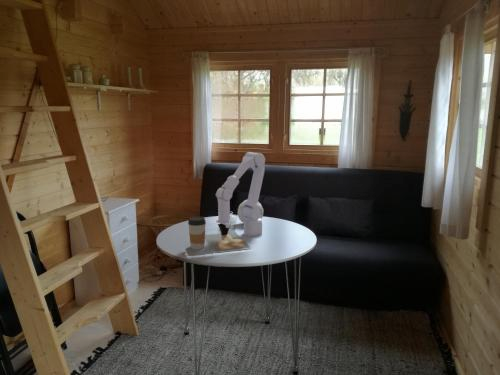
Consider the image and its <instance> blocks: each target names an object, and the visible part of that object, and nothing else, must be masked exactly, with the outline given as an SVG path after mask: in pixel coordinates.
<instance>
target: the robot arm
mask: <svg viewBox="0 0 500 375" xmlns="http://www.w3.org/2000/svg"><path fill="white" fill-rule="evenodd" d="M265 163H266V157H265V156H264V154H263V153H260V152H251V151H248V152H246V153H245V154H244V156H243V157H242V161H241V163H240V164H239V166H238V167H237V168H236V170H235V172H234V173H233V174H232V175H230V176H228V177H227V178H226V181H225V182H224V183H223V184H222V185H221V187H219V188H218V189H217V191H216V193H215V198H217V208H218V209H217V210H218V212H217V214H218V219H217V220H215V222H216V223H218V224H217V226H218V228H219V231H220V233H221V235H227V234H228V233H229V230H230V228H231V211H230V210H231V208H230V206H231V205H230V204H231V201H230V200H231V199H232V198H233V193H234V191H235V189H236V188H237V186H238V185H239V184H240V180H239V179H241V177H242V176H243V175H244V174H245V173H246V171H248V169H249V168H251V169H252V170H253V174H252V178H251V183H250V188H249V191H248V197H247V199H246V200H247V201H246V202H245V203H244V205H243V207H242V209H241V215H242V216H243V219H244V223H243V235H244V236H246V237H248V236H249V237H253V236H262V235H263V222H262V219H258V218H259V217H260V205H259V204H258V202H259V198H260V193H261V189H262V186H263V185H262V184H263V179H264V176H265V170H266V168H265ZM251 206H252V207H251Z"/></svg>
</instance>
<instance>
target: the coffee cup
mask: <svg viewBox="0 0 500 375" xmlns="http://www.w3.org/2000/svg"><path fill="white" fill-rule="evenodd" d="M187 222H188V223H187V224H188V233H189V235H188V236H189V242H190V244H189V245H190V249H193V250H202V249H203V248H205V243H206V240H205V235H206V225H207V224H206V223H207V221H206V219H205V217H203V216H192V217H189V218H188V221H187Z"/></svg>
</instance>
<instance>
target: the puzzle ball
mask: <svg viewBox="0 0 500 375" xmlns="http://www.w3.org/2000/svg"><path fill="white" fill-rule="evenodd" d="M247 200H248V199H245V200H243V201H242V202H241V203H240V204H239V206H238V208H237V217H238V219H239V221H240V222H242V223H243V224H244V219H243V216H242V215H241V209H242V207H243V205H244V203H245V202H246V201H247ZM258 204H259V205H260V217H259V218H258V219H261V220H262V219H263V217H264V208H263V205H262V204H261V202H260V201H258ZM251 207H252V206H251Z"/></svg>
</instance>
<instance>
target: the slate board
mask: <svg viewBox="0 0 500 375" xmlns="http://www.w3.org/2000/svg"><path fill="white" fill-rule="evenodd" d="M227 235H230V236H231V237H232V238H233V239H242V240H243V241H244V247H239V248H230V249H221V250H219V248H218V247H217V241H221V232H220V233H210V234H205V242H206V243H207V244H208V245H209V247H210V248H211V250H212V251H214V252H216V254H219V253H220V254H221V253H222V252H223V251H225V253H229V252H231V251H232V250H234V252H238V251H240V250H241V249H243V251H247V250H249V249H250V248H251V246H250V245H249V244H248V243H247V242H246V240H244V239H243V238H242V237H241V236H239V235H238V233H237V232H235V231H232V232H231V231H230V232H228V234H227ZM236 249H237V250H236ZM219 251H220V252H219Z"/></svg>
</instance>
